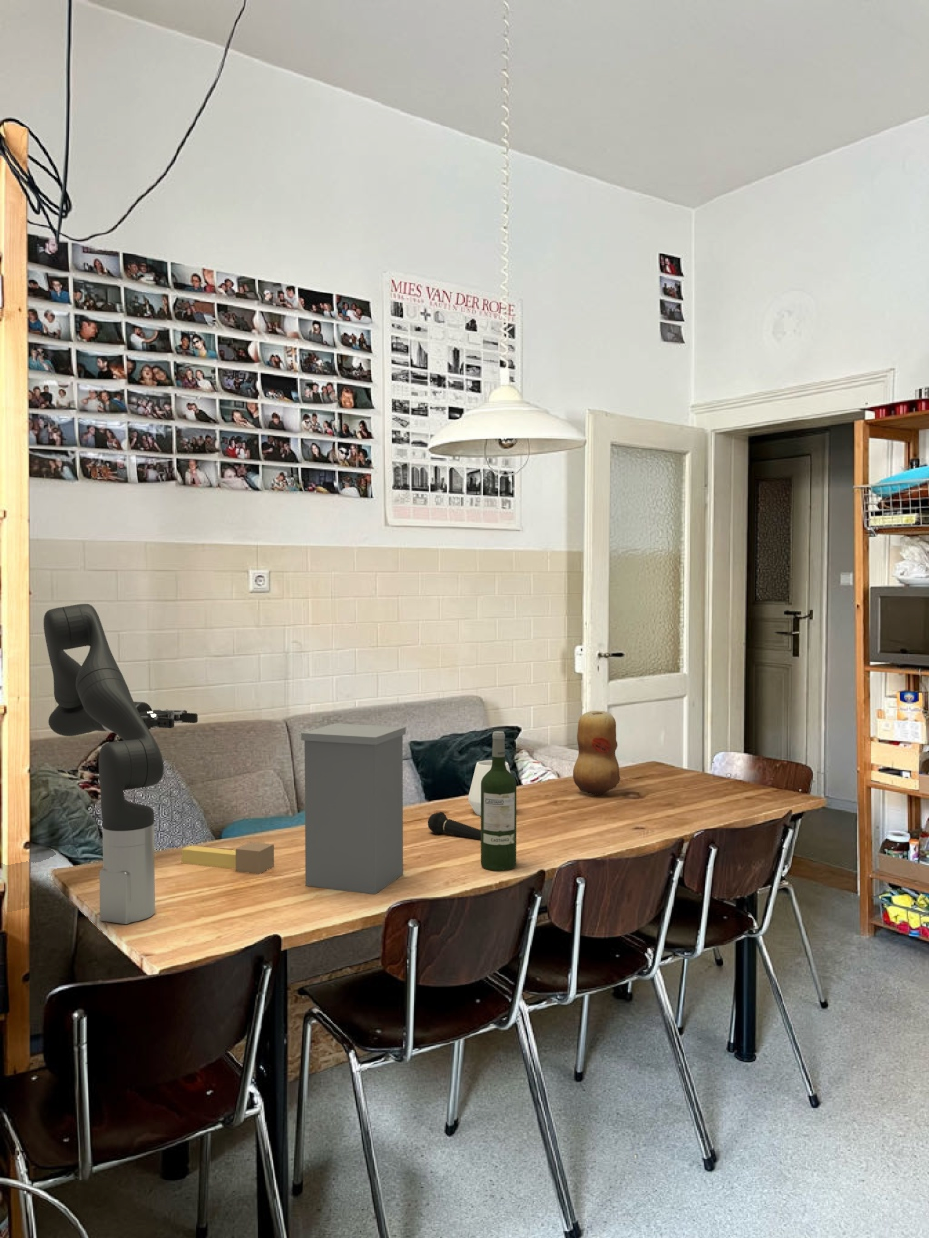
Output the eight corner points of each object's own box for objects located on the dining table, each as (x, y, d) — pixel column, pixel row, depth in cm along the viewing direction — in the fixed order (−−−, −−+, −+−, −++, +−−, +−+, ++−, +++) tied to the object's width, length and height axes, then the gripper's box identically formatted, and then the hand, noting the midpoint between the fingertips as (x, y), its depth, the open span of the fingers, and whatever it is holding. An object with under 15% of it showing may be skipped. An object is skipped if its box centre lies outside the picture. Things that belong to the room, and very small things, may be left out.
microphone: (500, 852, 233) (431, 832, 243) (506, 829, 234) (437, 810, 244) (491, 851, 228) (421, 830, 238) (497, 827, 229) (427, 808, 239)
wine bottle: (486, 872, 206) (486, 735, 205) (476, 862, 214) (476, 730, 213) (521, 869, 208) (521, 733, 207) (509, 859, 216) (510, 728, 215)
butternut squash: (578, 799, 277) (578, 714, 276) (569, 790, 291) (569, 709, 290) (624, 798, 278) (624, 714, 278) (613, 789, 292) (614, 708, 291)
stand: (302, 886, 197) (301, 733, 196) (336, 866, 211) (335, 723, 210) (376, 895, 191) (375, 737, 190) (406, 874, 205) (405, 727, 204)
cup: (461, 817, 256) (461, 765, 256) (475, 806, 269) (475, 757, 269) (510, 820, 253) (510, 768, 252) (521, 809, 265) (521, 759, 265)
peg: (178, 865, 212) (177, 842, 212) (194, 857, 218) (193, 836, 218) (259, 874, 205) (259, 851, 205) (274, 866, 211) (273, 844, 211)
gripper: (105, 704, 213) (165, 707, 208) (146, 698, 227) (204, 700, 221) (105, 738, 213) (165, 741, 208) (147, 729, 227) (204, 732, 221)
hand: (185, 720), depth 214 cm, fingers open, 8 cm apart
